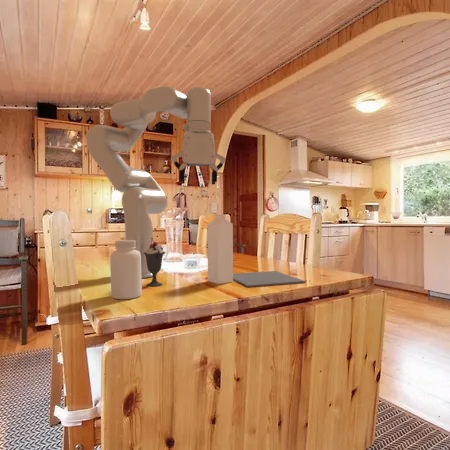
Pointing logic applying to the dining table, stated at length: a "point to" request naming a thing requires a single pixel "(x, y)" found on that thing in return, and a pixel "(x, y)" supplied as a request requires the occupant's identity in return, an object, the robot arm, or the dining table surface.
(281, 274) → the slate mat
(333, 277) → the dining table surface
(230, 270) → the milk
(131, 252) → the pill bottle
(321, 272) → the dining table surface
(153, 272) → the sundae
